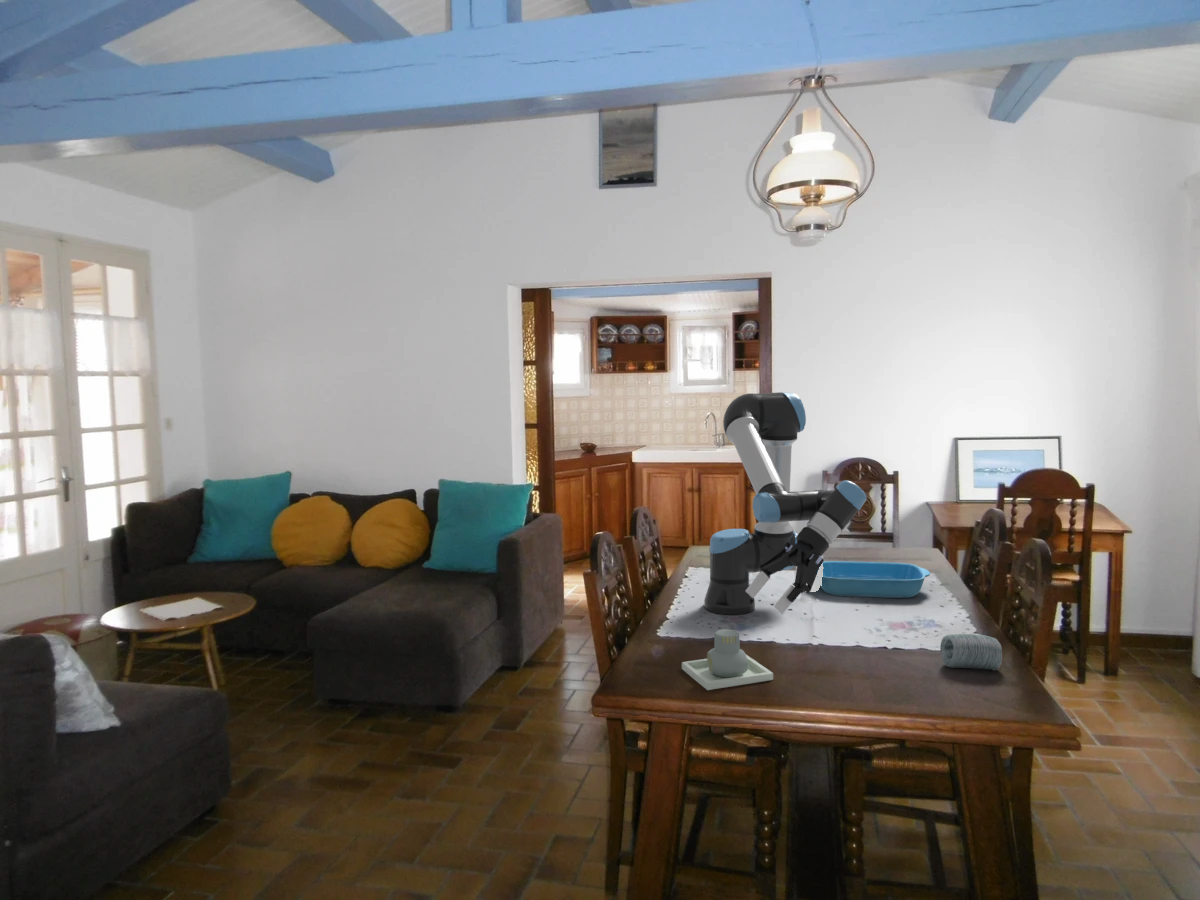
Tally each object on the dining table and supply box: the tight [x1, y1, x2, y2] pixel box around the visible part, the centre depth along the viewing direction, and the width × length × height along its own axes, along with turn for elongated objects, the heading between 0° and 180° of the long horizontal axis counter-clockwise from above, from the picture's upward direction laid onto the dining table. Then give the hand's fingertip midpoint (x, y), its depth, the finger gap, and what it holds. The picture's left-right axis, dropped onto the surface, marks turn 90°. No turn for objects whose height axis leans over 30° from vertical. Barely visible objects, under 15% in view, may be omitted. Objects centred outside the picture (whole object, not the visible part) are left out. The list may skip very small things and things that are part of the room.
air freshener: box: [706, 628, 748, 678], centre depth 196 cm, size 11×8×10 cm
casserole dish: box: [820, 560, 931, 599], centre depth 265 cm, size 37×22×7 cm, turn 77°
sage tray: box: [681, 654, 774, 691], centre depth 197 cm, size 14×17×2 cm
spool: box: [940, 633, 1003, 671], centre depth 197 cm, size 14×10×10 cm
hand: (763, 602), depth 198 cm, fingers open, 13 cm apart
